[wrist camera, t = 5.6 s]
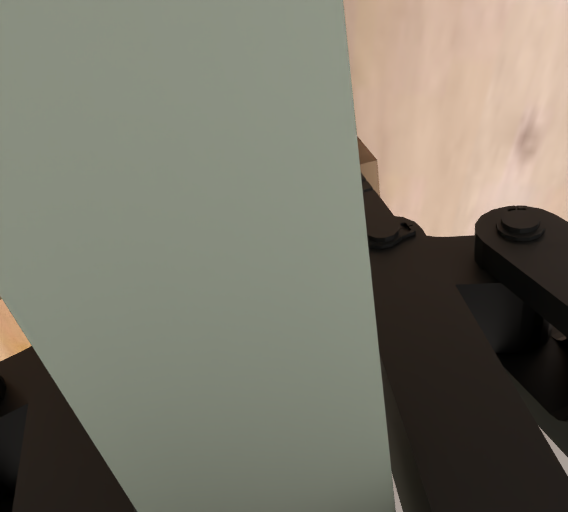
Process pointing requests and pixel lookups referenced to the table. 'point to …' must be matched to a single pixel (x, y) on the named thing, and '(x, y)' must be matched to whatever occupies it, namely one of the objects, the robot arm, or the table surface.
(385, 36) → the table surface
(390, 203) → the table surface
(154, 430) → the sage plate
